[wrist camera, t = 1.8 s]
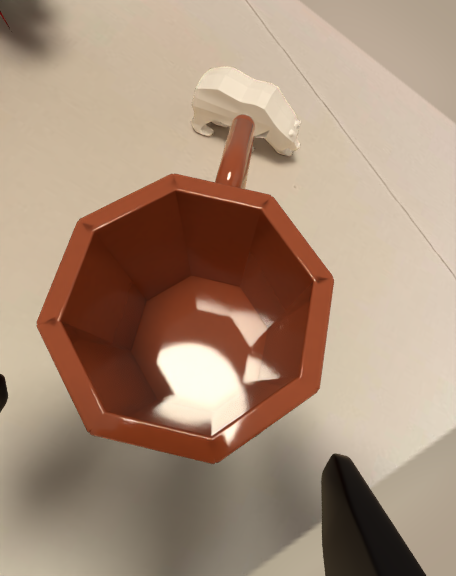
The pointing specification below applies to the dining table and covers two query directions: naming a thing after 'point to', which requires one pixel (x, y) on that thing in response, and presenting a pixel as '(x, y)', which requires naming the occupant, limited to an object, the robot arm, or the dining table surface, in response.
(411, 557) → the robot arm
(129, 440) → the mug
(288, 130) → the figurine
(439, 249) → the dining table surface
